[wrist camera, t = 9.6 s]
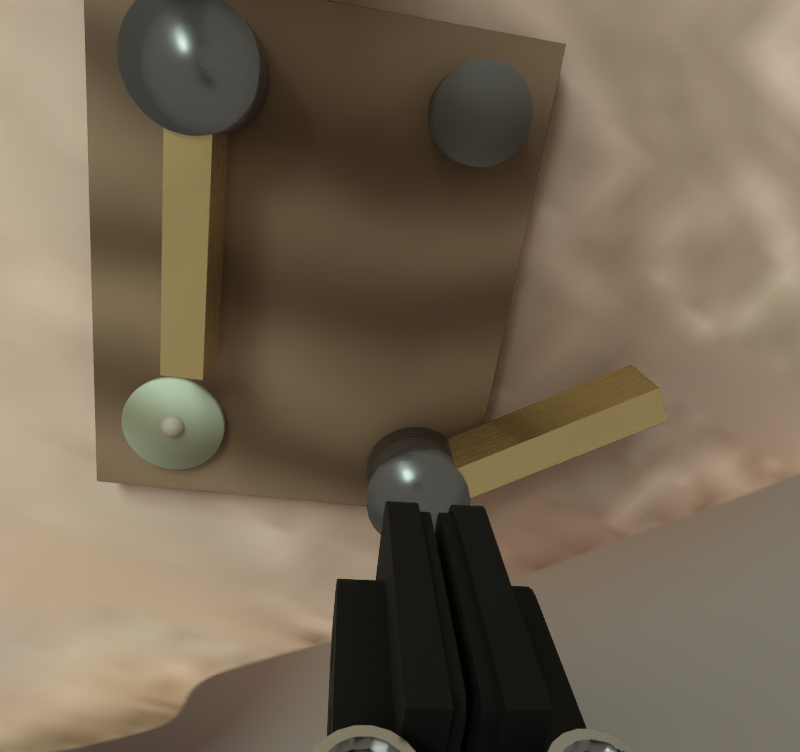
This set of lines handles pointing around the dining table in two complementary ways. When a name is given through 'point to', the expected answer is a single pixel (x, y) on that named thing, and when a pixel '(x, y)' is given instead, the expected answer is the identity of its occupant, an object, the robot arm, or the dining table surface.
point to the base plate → (319, 249)
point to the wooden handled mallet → (508, 444)
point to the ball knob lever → (192, 151)
